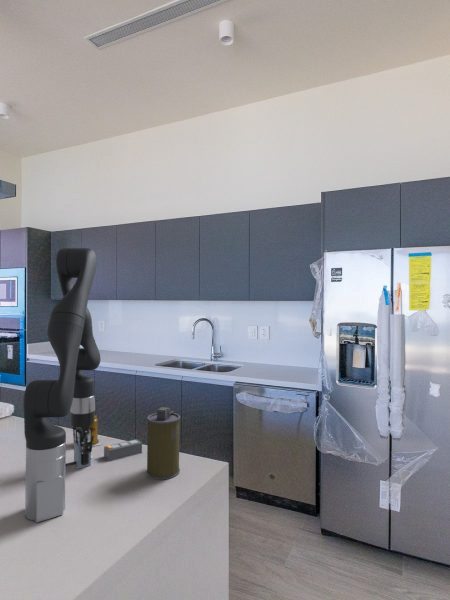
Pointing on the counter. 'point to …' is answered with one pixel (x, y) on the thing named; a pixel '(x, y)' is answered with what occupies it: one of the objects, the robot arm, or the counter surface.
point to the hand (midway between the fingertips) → (82, 461)
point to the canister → (163, 444)
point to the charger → (78, 456)
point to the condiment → (94, 431)
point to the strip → (122, 449)
